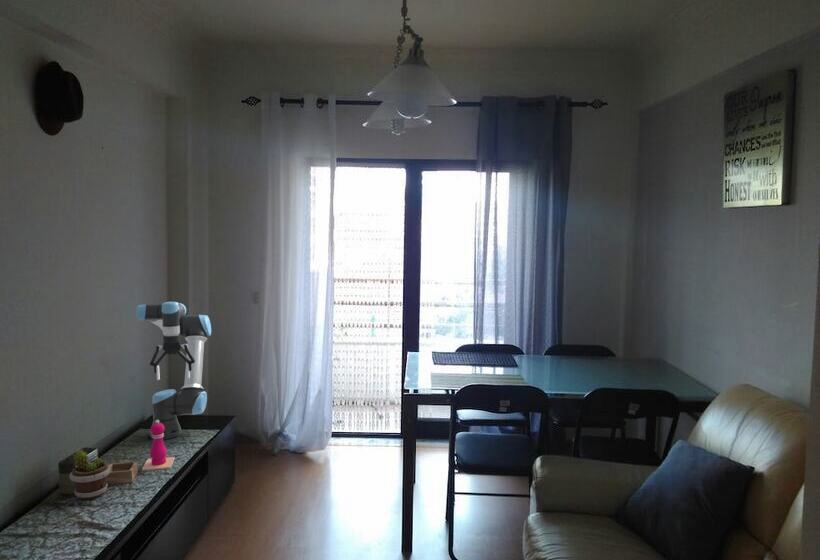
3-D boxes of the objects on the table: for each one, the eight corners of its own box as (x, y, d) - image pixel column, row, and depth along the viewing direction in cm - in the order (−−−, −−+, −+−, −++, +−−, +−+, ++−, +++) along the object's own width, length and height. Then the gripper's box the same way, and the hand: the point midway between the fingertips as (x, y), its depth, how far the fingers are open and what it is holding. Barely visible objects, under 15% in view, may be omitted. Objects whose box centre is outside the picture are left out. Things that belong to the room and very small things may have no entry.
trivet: (147, 460, 291) (147, 459, 291) (174, 458, 294) (174, 457, 294) (142, 470, 280) (141, 469, 280) (170, 468, 282) (170, 466, 282)
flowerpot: (117, 486, 263) (115, 440, 261) (100, 502, 248) (98, 453, 246) (82, 487, 263) (79, 441, 261) (63, 503, 247) (60, 454, 246)
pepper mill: (163, 458, 292) (161, 416, 290) (169, 462, 287) (168, 419, 285) (147, 462, 287) (146, 420, 285) (154, 466, 282) (152, 423, 280)
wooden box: (111, 474, 276) (110, 463, 275) (137, 472, 278) (137, 461, 278) (104, 484, 265) (103, 473, 265) (132, 482, 267) (131, 470, 267)
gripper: (141, 337, 289) (144, 382, 291) (198, 334, 294) (199, 378, 296) (145, 334, 297) (147, 378, 299) (200, 332, 302) (201, 375, 304)
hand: (173, 378), depth 297 cm, fingers open, 13 cm apart
